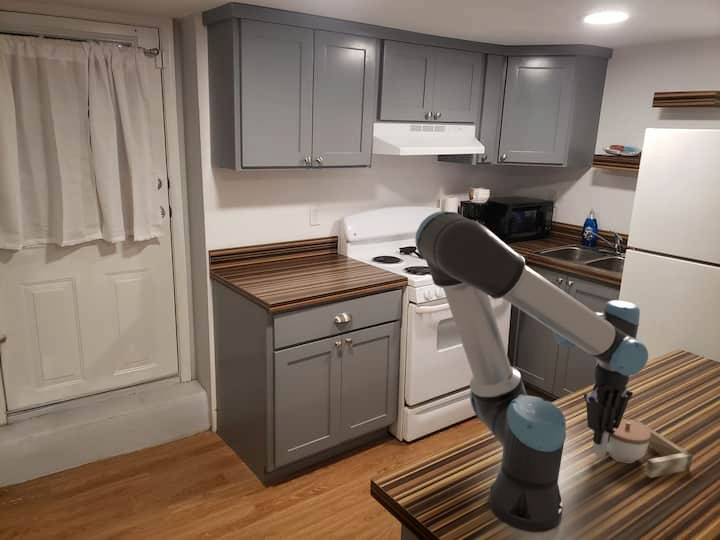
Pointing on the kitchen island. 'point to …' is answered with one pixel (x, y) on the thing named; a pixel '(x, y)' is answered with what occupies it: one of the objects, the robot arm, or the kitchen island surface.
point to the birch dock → (666, 456)
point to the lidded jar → (628, 442)
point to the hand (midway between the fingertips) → (598, 454)
